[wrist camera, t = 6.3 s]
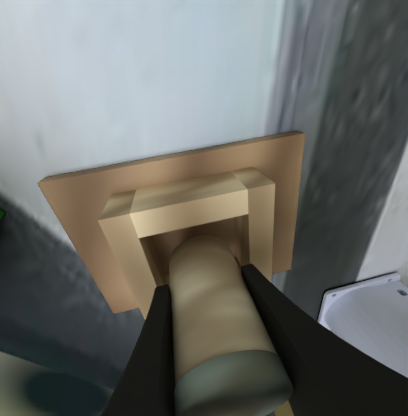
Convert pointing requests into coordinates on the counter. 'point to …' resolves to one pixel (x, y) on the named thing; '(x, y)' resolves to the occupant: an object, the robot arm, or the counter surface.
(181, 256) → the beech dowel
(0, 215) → the milk carton
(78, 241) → the socket board
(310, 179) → the counter surface
